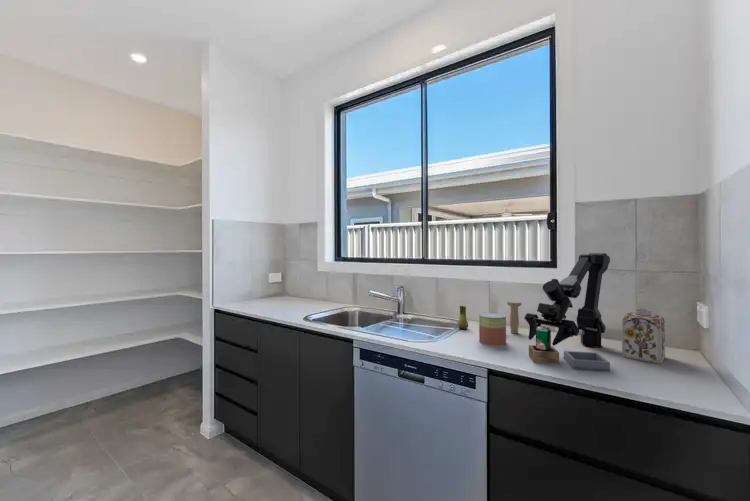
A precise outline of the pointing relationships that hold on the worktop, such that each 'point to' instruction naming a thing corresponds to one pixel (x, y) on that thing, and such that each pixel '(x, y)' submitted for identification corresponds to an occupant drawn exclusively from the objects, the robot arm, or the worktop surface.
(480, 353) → the worktop surface
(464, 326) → the fennel bulb
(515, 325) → the handle
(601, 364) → the tray
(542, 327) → the soda can
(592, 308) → the robot arm
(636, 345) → the decorative jar
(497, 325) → the canned food
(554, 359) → the wooden box
